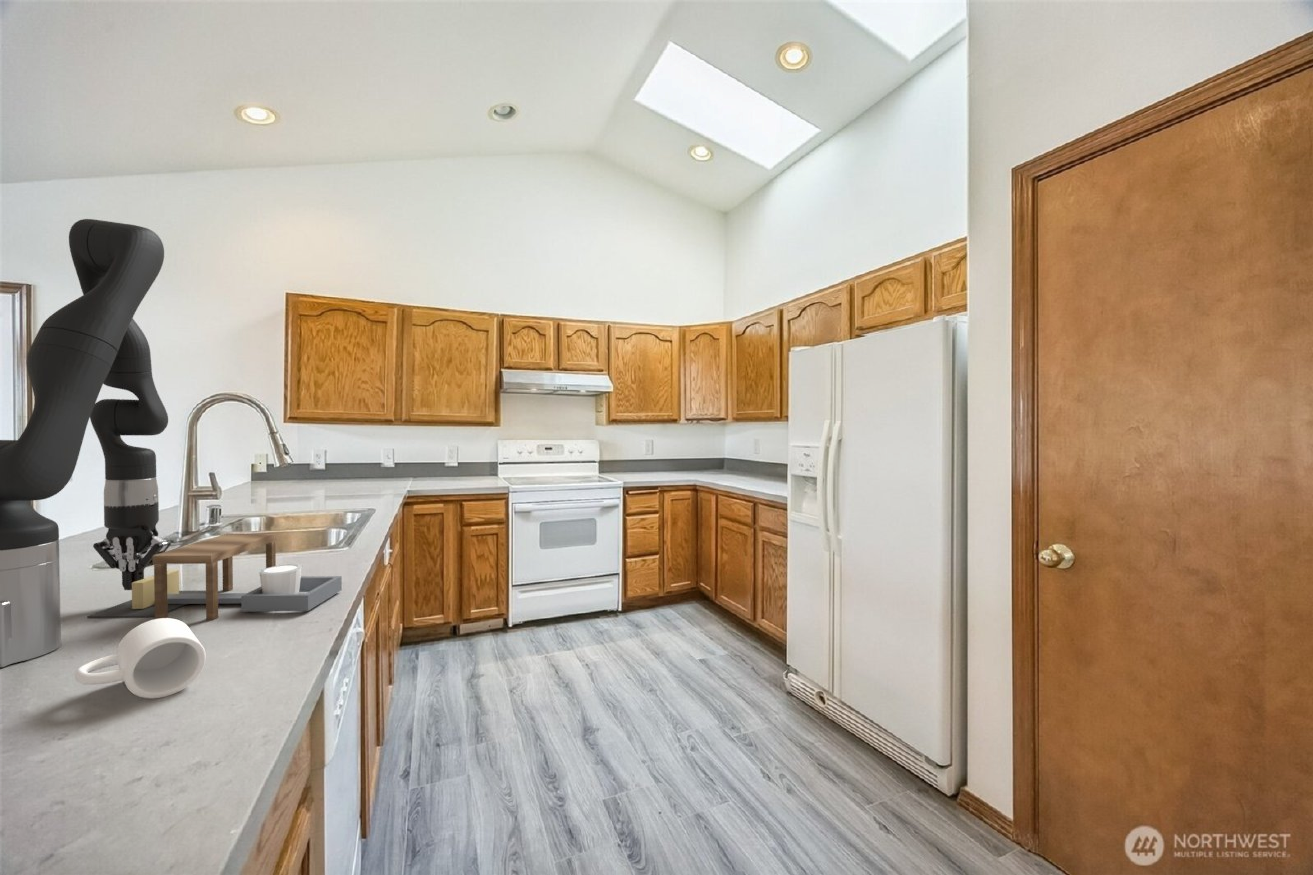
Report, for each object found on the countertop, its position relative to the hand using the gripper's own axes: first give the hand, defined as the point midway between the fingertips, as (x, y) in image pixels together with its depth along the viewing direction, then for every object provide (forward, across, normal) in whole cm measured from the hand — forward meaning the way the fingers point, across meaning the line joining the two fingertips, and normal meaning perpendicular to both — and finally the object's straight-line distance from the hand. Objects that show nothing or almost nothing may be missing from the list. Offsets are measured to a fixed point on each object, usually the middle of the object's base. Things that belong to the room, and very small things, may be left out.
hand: (133, 588), depth 102 cm
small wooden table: (+3, +16, 0) cm, 16 cm away
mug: (+3, +31, -33) cm, 45 cm away
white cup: (+3, +28, 0) cm, 28 cm away
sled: (+3, +20, 0) cm, 20 cm away
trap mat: (+3, +4, 0) cm, 5 cm away
